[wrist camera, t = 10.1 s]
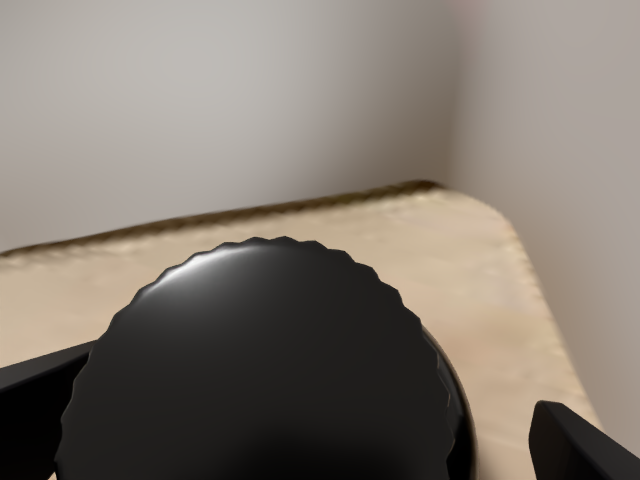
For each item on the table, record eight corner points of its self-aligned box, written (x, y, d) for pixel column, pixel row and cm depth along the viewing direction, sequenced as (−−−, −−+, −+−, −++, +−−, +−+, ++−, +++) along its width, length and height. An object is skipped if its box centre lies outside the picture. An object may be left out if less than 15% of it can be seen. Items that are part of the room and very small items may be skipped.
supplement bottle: (434, 373, 16) (554, 200, 5) (420, 592, 13) (646, 1170, 2) (271, 344, 17) (120, 161, 7) (222, 534, 14) (-205, 735, 4)
